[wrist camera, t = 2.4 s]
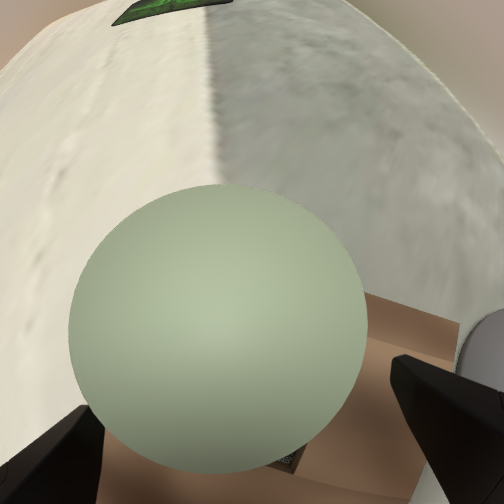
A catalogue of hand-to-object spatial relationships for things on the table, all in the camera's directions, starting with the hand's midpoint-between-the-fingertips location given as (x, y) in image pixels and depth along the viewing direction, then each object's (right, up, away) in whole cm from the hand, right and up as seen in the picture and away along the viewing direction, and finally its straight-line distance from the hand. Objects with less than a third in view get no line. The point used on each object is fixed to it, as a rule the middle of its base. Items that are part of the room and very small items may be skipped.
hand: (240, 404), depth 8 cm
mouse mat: (-17, +62, +46) cm, 80 cm away
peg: (0, -3, +9) cm, 9 cm away
